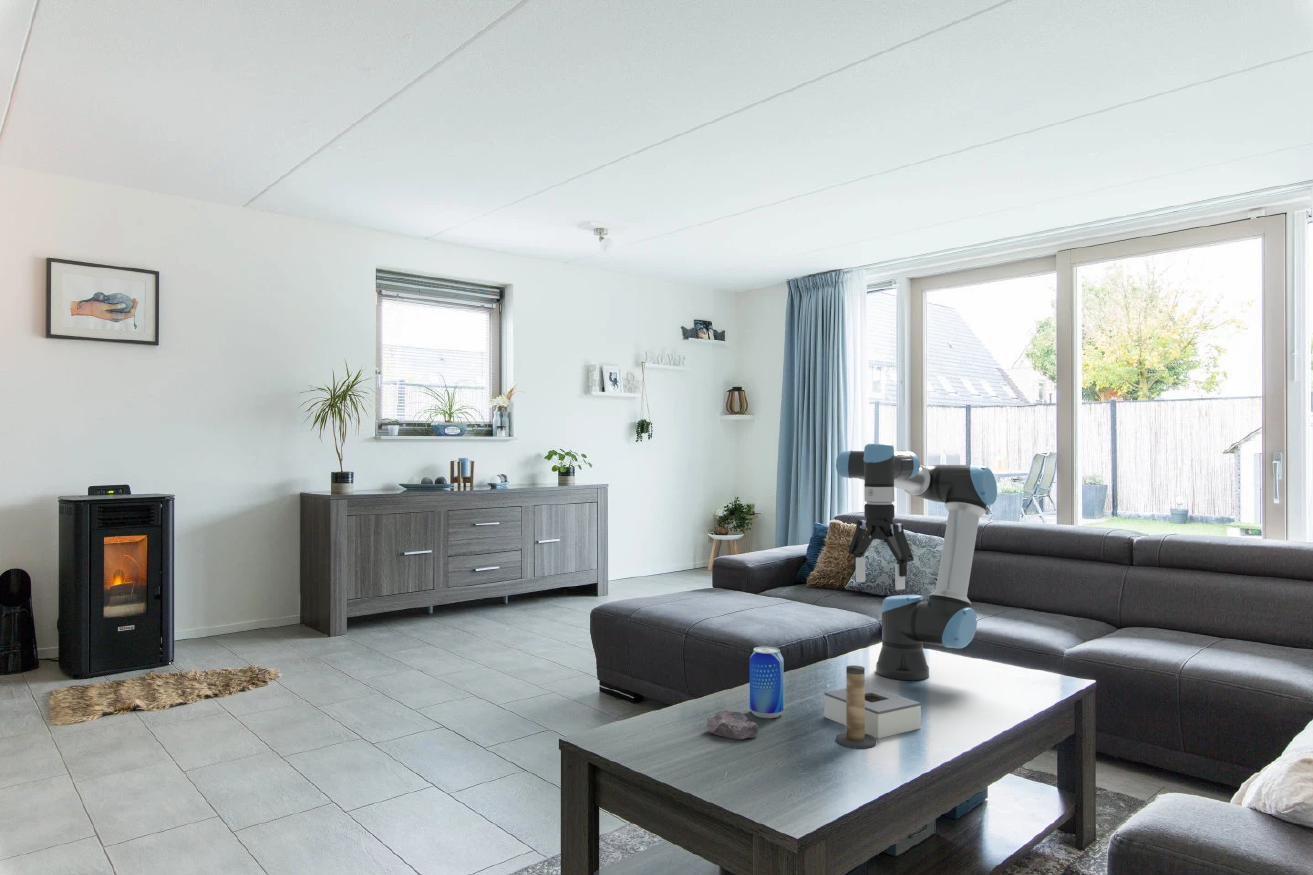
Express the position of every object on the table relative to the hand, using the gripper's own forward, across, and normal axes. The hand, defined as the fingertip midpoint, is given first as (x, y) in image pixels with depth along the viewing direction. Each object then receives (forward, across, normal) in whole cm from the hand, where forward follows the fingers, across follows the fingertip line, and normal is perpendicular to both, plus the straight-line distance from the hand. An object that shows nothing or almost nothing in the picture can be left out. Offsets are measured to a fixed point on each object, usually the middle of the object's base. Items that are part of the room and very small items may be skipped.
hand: (879, 585), depth 212 cm
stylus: (+30, +16, -24) cm, 42 cm away
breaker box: (+31, +8, -11) cm, 34 cm away
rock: (+31, -3, -46) cm, 55 cm away
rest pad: (+31, +16, -24) cm, 42 cm away
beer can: (+31, -10, -29) cm, 44 cm away
